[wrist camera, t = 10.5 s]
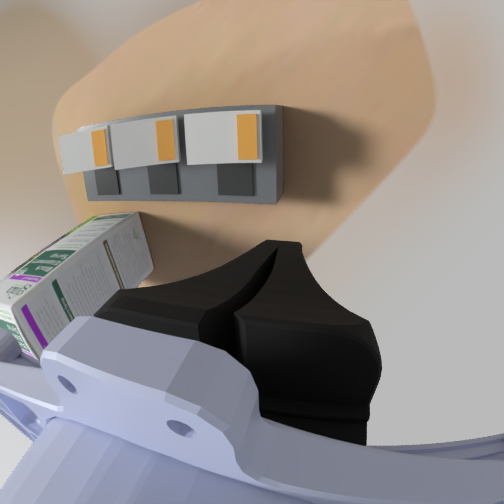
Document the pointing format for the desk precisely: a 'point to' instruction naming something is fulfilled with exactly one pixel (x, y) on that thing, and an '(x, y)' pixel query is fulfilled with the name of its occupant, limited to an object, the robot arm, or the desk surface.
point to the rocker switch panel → (197, 169)
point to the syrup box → (73, 278)
